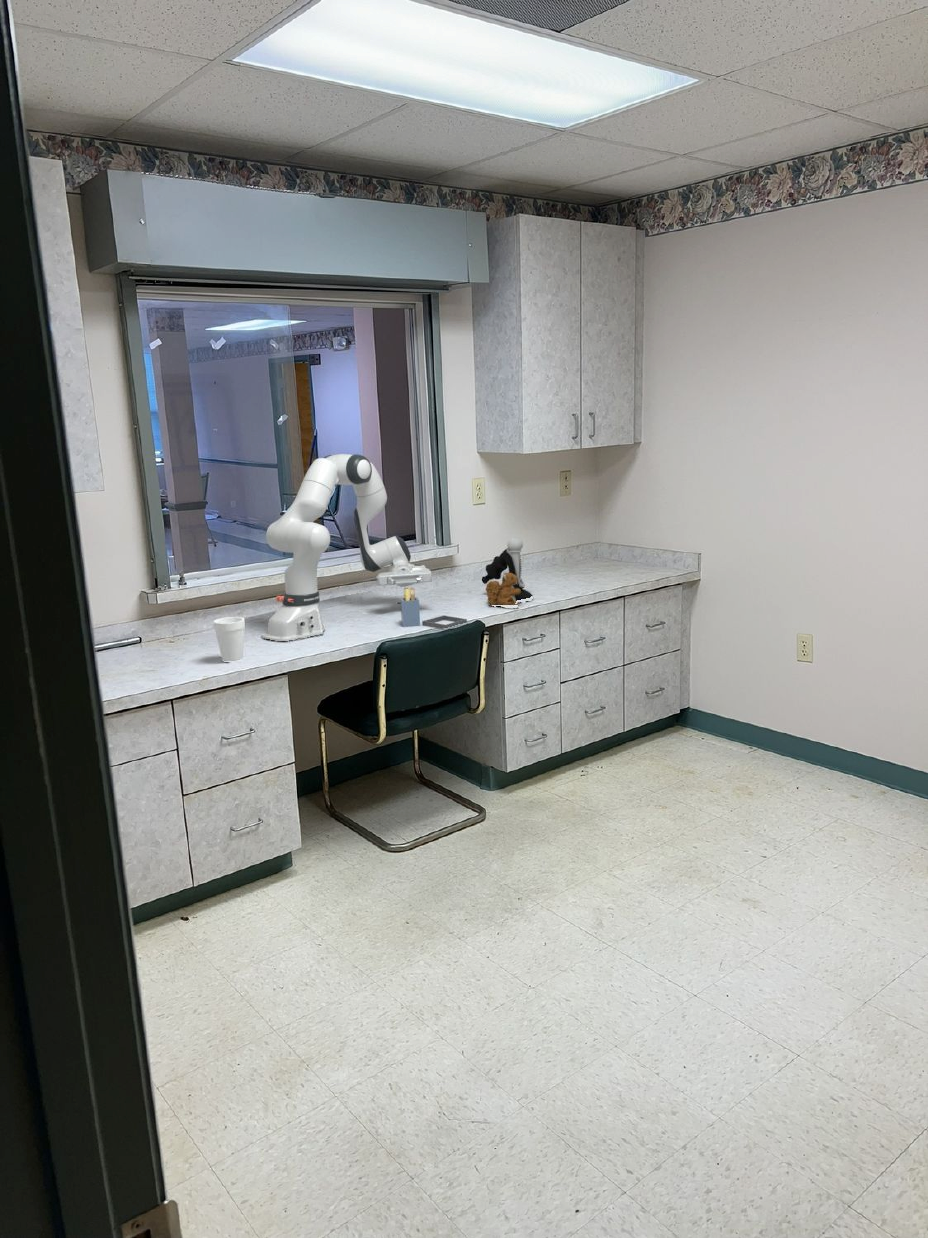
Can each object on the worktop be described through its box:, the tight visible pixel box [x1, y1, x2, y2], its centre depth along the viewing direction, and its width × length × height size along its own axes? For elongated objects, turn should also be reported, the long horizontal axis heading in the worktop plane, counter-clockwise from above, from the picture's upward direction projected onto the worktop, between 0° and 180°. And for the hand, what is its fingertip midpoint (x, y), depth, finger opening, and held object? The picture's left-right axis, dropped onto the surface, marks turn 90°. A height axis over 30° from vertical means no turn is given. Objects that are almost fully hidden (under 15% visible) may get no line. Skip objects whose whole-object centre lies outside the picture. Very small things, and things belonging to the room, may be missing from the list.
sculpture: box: [481, 537, 534, 600], centre depth 368 cm, size 15×24×25 cm, turn 51°
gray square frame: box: [421, 615, 468, 630], centre depth 327 cm, size 11×11×2 cm
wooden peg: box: [409, 587, 416, 600], centre depth 327 cm, size 2×2×13 cm
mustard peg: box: [404, 588, 411, 601], centre depth 325 cm, size 2×2×13 cm
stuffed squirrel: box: [485, 572, 521, 606], centre depth 355 cm, size 10×14×13 cm
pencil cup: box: [399, 596, 421, 628], centre depth 327 cm, size 6×6×10 cm
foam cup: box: [213, 616, 246, 661], centre depth 289 cm, size 10×9×13 cm
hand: (406, 581), depth 337 cm, fingers open, 8 cm apart
